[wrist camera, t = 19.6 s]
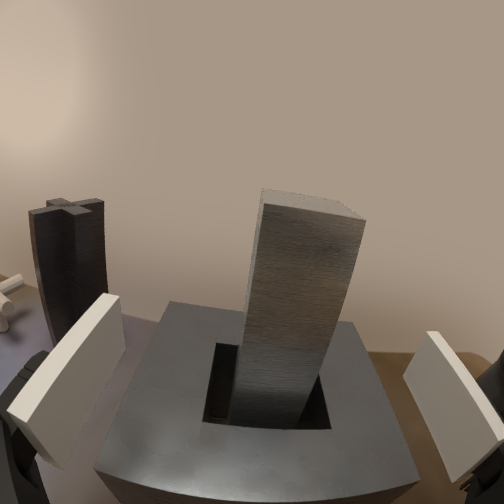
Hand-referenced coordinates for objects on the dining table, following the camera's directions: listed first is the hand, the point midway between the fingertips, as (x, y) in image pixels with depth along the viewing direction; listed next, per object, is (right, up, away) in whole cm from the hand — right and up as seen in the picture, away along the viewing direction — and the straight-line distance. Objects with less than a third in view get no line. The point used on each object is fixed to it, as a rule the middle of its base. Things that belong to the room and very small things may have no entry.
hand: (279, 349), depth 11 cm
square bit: (-1, -13, +8) cm, 15 cm away
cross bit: (-20, -7, +16) cm, 27 cm away
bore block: (-1, -13, +8) cm, 15 cm away
